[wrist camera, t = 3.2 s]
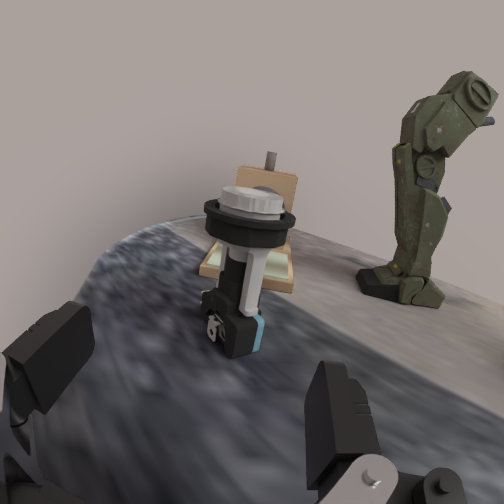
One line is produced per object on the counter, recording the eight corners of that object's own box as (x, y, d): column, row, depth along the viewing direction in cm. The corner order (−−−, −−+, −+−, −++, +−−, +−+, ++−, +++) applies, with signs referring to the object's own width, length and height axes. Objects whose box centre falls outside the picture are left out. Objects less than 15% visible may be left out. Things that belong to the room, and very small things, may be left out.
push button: (173, 312, 22) (184, 178, 18) (232, 302, 25) (252, 182, 21) (213, 369, 17) (237, 202, 13) (281, 348, 20) (318, 206, 16)
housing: (227, 230, 43) (241, 146, 39) (288, 242, 43) (305, 158, 39) (198, 275, 28) (216, 143, 24) (291, 293, 28) (320, 162, 24)
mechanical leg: (335, 284, 29) (447, 39, 19) (328, 260, 36) (423, 56, 26) (429, 329, 29) (529, 113, 19) (411, 301, 36) (498, 115, 26)
